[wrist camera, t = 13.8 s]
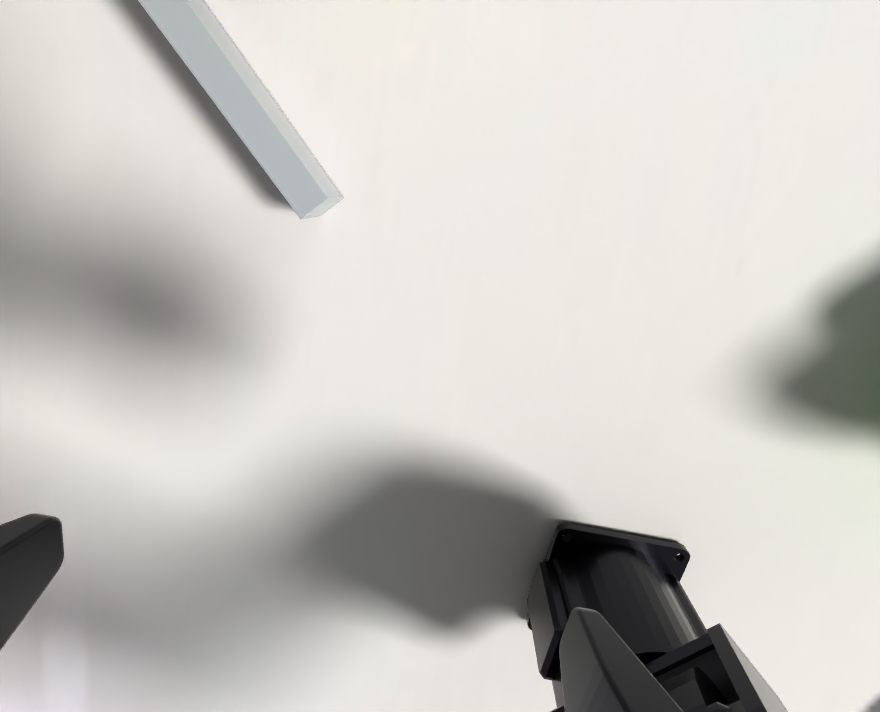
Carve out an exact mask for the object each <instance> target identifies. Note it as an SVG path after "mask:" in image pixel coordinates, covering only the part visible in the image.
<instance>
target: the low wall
mask: <svg viewBox="0 0 880 712" xmlns="http://www.w3.org/2000/svg"><path fill="white" fill-rule="evenodd" d="M138 1H139V2H140V4H141V5H142V6H143V8H144V9H145V10H146V12H147V13H148V14H149V16H150V17H151V18H152V20H153V21H154V22H155V24H156V25H157V27H158V28H159V29H160V31H161V32H162V33H163V35H164V36H165V37H166V39H167V40H168V41H169V43H170V44H171V45H172V47H173V48H174V49H175V51H176V52H177V53H178V55H179V56H180V57H181V59H182V60H183V62H184V63H185V64H186V66H187V67H188V68H189V70H190V71H191V72H192V74H193V75H194V76H195V78H196V79H197V80H198V82H199V83H200V84H201V86H202V87H203V88H204V90H205V91H206V92H207V94H208V95H209V96H210V98H211V99H212V101H213V102H214V103H215V105H216V106H217V107H218V109H219V110H220V111H221V113H222V114H223V115H224V117H225V118H226V119H227V121H228V122H229V123H230V125H231V126H232V127H233V129H234V130H235V131H236V133H237V134H238V136H239V137H240V138H241V140H242V141H243V142H244V144H245V145H246V146H247V148H248V149H249V150H250V152H251V153H252V154H253V156H254V157H255V158H256V160H257V161H258V162H259V164H260V165H261V166H262V168H263V169H264V171H265V172H266V173H267V175H268V176H269V177H270V179H271V180H272V181H273V183H274V184H275V185H276V187H277V188H278V189H279V191H280V192H281V193H282V195H283V196H284V197H285V199H286V200H287V201H288V203H289V204H290V205H291V207H292V208H293V210H294V211H295V212H296V214H297V215H298V216H299V218H300V219H305V218H311V217H316V216H321V215H322V214H323V213H325V212H326V211H327V210H328V209H330V208H331V207H332V206H334V205H335V204H336V203H338V202H339V201H340V200H342V199H343V198H344V197H343V196H342V194H341V193H340V192H339V190H338V189H337V187H336V186H335V184H334V183H333V182H332V180H331V179H330V177H329V176H328V175H327V173H326V172H325V170H324V169H323V168H322V166H321V165H320V163H319V162H318V160H317V159H316V158H315V156H314V155H313V153H312V152H311V151H310V149H309V148H308V146H307V145H306V144H305V142H304V141H303V139H302V138H301V136H300V135H299V134H298V132H297V131H296V129H295V128H294V127H293V125H292V124H291V122H290V121H289V119H288V118H287V117H286V115H285V114H284V112H283V111H282V110H281V108H280V107H279V105H278V104H277V103H276V101H275V100H274V98H273V97H272V95H271V94H270V93H269V91H268V90H267V88H266V87H265V86H264V84H263V83H262V81H261V80H260V79H259V77H258V76H257V74H256V73H255V71H254V70H253V69H252V67H251V66H250V64H249V63H248V62H247V60H246V59H245V57H244V56H243V55H242V53H241V52H240V50H239V49H238V47H237V46H236V45H235V43H234V42H233V40H232V39H231V38H230V36H229V35H228V33H227V32H226V31H225V29H224V28H223V26H222V25H221V23H220V22H219V21H218V19H217V18H216V16H215V15H214V14H213V12H212V11H211V9H210V8H209V7H208V5H207V4H206V2H205V1H204V0H138Z"/></svg>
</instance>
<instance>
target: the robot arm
mask: <svg viewBox="0 0 880 712" xmlns="http://www.w3.org/2000/svg"><path fill="white" fill-rule="evenodd" d="M565 533H570V534H569V535H567V536H563V534H565ZM679 553H680V555H678V556H675V555H676V554H679ZM63 558H64V547H63V534H62V524H61V521H60V520H59V518H57V517H54V516H48V515H42V514H29V515H26V516H23V517H21V518H18V519H15V520H13V521H10V522H8V523H5V524H2V525H0V650H1V649H2V648H3V646H4V645H5V644H6V642H7V641H8V639H9V638H10V637H11V635H12V634H13V633H14V631H15V630H16V628H17V627H18V626H19V624H20V623H21V621H22V620H23V619H24V617H25V616H26V615H27V613H28V612H29V610H30V609H31V608H32V606H33V605H34V603H35V602H36V601H37V599H38V598H39V597H40V595H41V594H42V592H43V591H44V590H45V588H46V587H47V585H48V584H49V583H50V581H51V580H52V579H53V577H54V576H55V574H56V573H57V572H58V570H59V568H60V566H61V564H62V562H63ZM689 559H690V554H689V552H688V551H687V549H686V548H685V546H684V545H682V544H679V543H674V542H668V541H663V540H657V539H652V538H646V537H641V536H635V535H630V534H624V533H619V532H614V531H608V530H603V529H597V528H592V527H586V526H581V525H575V524H570V523H563V524H560V525H558V526H557V527H556V529H555V532H554V535H553V538H552V541H551V544H550V547H549V550H548V553H547V556H546V559H545V560H543V561H542V562H540V563H539V565H538V568H537V571H536V574H535V578H534V581H533V584H532V587H531V590H530V593H529V596H528V599H527V604H528V610H529V611H528V614H527V624H528V627H529V629H531V630H532V633H533V639H534V645H535V650H536V656H537V662H538V668H539V672H540V674H541V675H542V677H543V678H544V679H548V680H552V684H553V689H554V694H555V699H556V705H557V708H556V709H554V710H552V711H550V712H788V711H787V710H786V708H785V707H784V705H783V703H782V702H781V701H780V699H779V698H778V696H777V695H776V693H775V692H774V691H773V690H772V688H771V687H770V686H769V685H768V683H767V682H766V681H765V680H764V678H763V677H762V676H761V675H760V673H759V672H758V671H757V670H756V668H755V667H754V666H753V664H752V663H751V662H750V661H749V659H748V658H747V657H746V656H745V654H744V653H743V652H742V651H741V649H740V648H739V647H738V646H737V644H736V643H735V642H734V641H733V639H732V638H731V637H730V636H729V634H728V633H727V632H726V630H725V629H724V628H723V627H722V625H721V624H720V623H719V624H717V625H715V626H713V627H711V628H709V629H707V630H706V628H705V626H704V624H703V623H702V621H701V619H700V617H699V616H698V614H697V612H696V610H695V609H694V607H693V605H692V603H691V602H690V600H689V598H688V596H687V595H686V593H685V591H684V589H683V588H682V586H681V584H680V580H681V577H682V575H683V573H684V571H685V568H686V566H687V564H688V562H689Z"/></svg>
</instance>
